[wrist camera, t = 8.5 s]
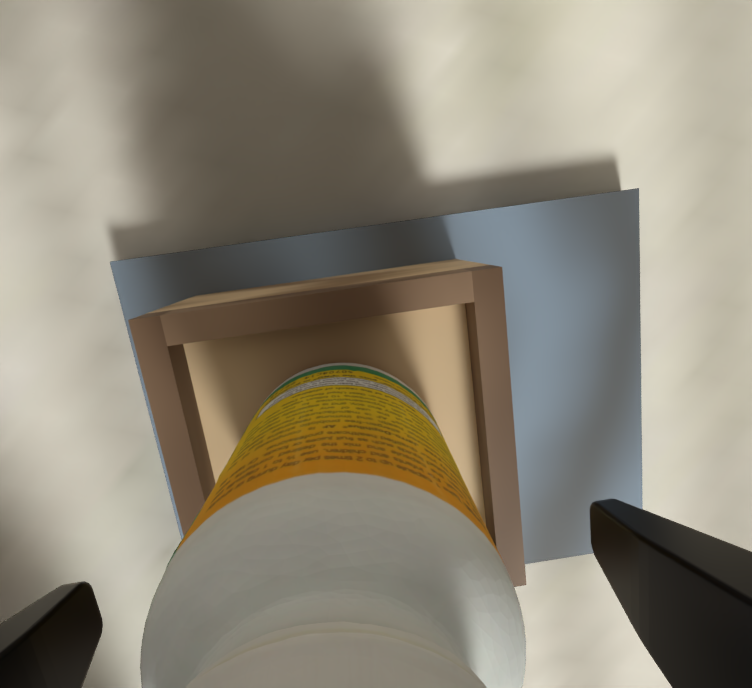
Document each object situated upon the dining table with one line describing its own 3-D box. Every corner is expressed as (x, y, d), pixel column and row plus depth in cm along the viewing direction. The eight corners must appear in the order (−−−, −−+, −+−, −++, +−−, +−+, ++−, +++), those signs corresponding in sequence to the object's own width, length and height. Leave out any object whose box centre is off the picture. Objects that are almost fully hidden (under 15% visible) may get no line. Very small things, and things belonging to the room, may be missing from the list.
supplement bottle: (453, 512, 14) (670, 1086, 4) (274, 552, 14) (114, 1213, 4) (419, 336, 13) (619, 618, 3) (223, 379, 13) (-144, 789, 3)
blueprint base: (208, 597, 20) (149, 748, 14) (123, 260, 17) (1, 271, 11) (628, 530, 20) (743, 649, 14) (622, 191, 17) (766, 165, 11)
